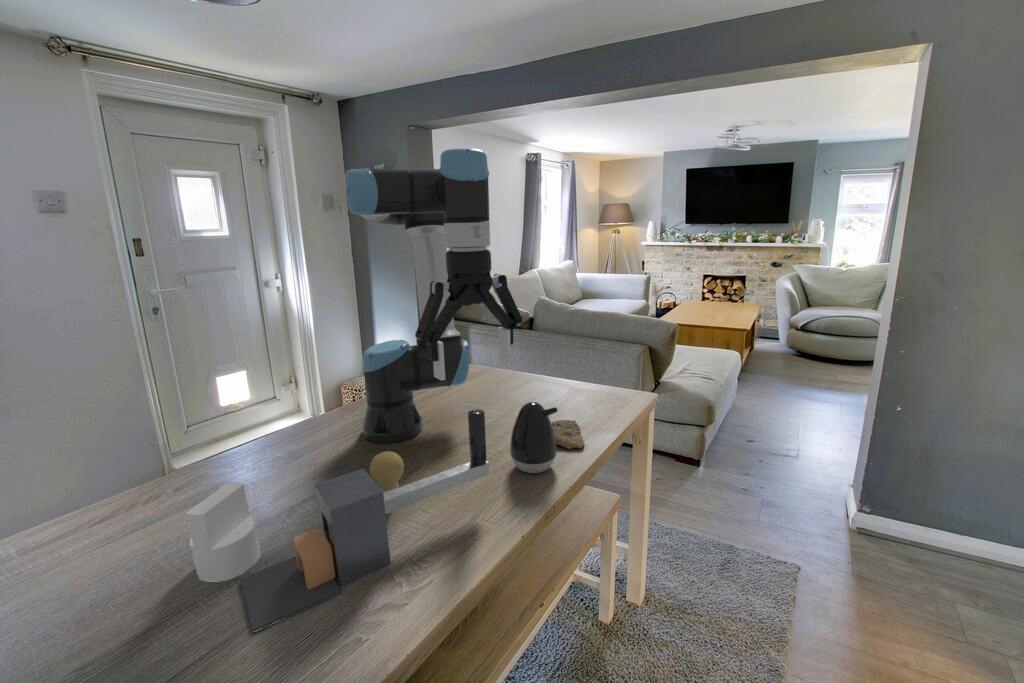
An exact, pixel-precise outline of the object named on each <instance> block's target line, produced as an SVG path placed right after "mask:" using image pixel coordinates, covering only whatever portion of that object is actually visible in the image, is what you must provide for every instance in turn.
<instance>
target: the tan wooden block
mask: <svg viewBox="0 0 1024 683" xmlns="http://www.w3.org/2000/svg"><path fill="white" fill-rule="evenodd" d="M292 541H293V548H294V553H295V556H296V560H297V566H298V569H299V571H300V572H302V571H304V575H305V581H306V586H307V588H308V590H309V589H311V588H314V587H316V586H318V585H320V584H322V583H324V582H327V581H329V580H331V579H333V578H334V579H335V578H336V576H335V570H334V563H333V556H332V549H331V546H330V544H329V542H328V541H327V539H326V538H325V536H324V534H323V533H322V531H321V529H320V527H316V528H314V529H312V530H309V531H307V532H304V533H302V534H299V535H297V536H293V537H292Z"/></svg>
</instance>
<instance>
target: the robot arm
mask: <svg viewBox="0 0 1024 683" xmlns="http://www.w3.org/2000/svg"><path fill="white" fill-rule="evenodd" d="M439 161H440V162H439V164H440V167H439V168H406V169H405V168H403V169H401V168H397V169H396V168H368V167H362V168H355V169H354V168H352V169H347V171H345V174H344V179H345V181H344V182H345V189H346V196H347V197H346V198H347V199H346V200H347V206H348V210H349V212H350V213H351V214H352V215H358V216H360V217H361V218H362V219H365V220H367V221H370V222H372V223H377V224H382V225H383V224H384V225H392V226H395V225H397V226H401V225H403V226H404V228H405V229H404V230H405V231H404V232H405V233H406V234H407V235H408V236H409V237H411V240H412V249H413V258H414V259H413V261H414V270H415V279H416V289H417V298H418V310H419V319H420V321H419V324H418V325H417V329H416V331H415V334H414V335H415V338H416V344H415V345H410V343H409V342H408V341H407V340H405V339H394V340H393V339H392V340H386V341H383V342H379V343H376V344H374V345H372V346H370V347H368V348H366V349H365V350H364V352H363V353H362V368H361V370H362V372H363V376H364V388H365V396H366V410H365V415H364V418H363V422H362V435H363V437H364V439H366V440H367V441H368V442H369V441H370V442H373V443H378V444H379V443H380V444H390V443H399V442H402V441H406V440H409V439H411V438H413V437H416V436H417V435H419V434H420V433H421V431H422V430H423V420H422V419H423V418H422V416H421V415H420V411H419V410H418V408H417V405H416V403H415V401H414V393H413V392H414V391H421V390H428V389H429V390H430V389H436V388H445V387H447V388H450V387H453V386H457V385H461V384H463V383H464V382H466V380H467V378H468V375H469V369H470V358H471V357H470V356H471V354H470V350H469V343H468V341H467V340H466V339H462V333H460V332H459V331H458V329H456V327H455V321H454V317H455V315H456V313H457V312H458V311H459V310H460V309H462V307H463V306H466V307H467V306H471V305H473V304H475V305H481V304H483V305H484V306H485V307H486V308H487V310H488V311H490V313H491V314H492V315H493V316H494V317H495V318H496V320H497V321H498V322H499V323H500V325H502V326H499V327H497V329H498V334H497V335H498V360H499V361H498V362H501V363H503V364H505V365H511V364H512V357H511V356H512V353H511V352H512V348H511V345H512V346H513V344H514V330H516V329H517V327H518V324H522V323H523V317H522V315H521V313H520V311H519V308H518V307H517V304H516V303H515V302H516V301H515V300H514V298H513V295H512V293H511V291H510V289H509V287H508V279H507V275H505V274H500V273H495V274H493V276H491V272H492V252H491V251H490V249H488V248H489V247H490V246H491V231H490V230H491V227H490V226H491V225H490V223H491V222H490V192H489V191H490V190H489V187H490V186H489V175H490V172H489V167H488V157H487V154H486V152H484V151H483V150H481V149H478V148H452V149H451V148H450V149H446V150H443V151H442V152H441V154H440V160H439ZM487 247H488V248H487ZM492 287H493V288H494V289H495V292H496V294H497V296H498V298H499V300H500V303H501V304H502V306H501V305H500V304H499V303H498V302H497V300H496V297H495V296H493V294H492V293H491V292H490V290H491V288H492ZM502 307H503V308H504V309H503V308H502Z"/></svg>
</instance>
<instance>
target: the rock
mask: <svg viewBox="0 0 1024 683" xmlns="http://www.w3.org/2000/svg"><path fill="white" fill-rule="evenodd" d="M551 423H552V426H553V430H554V434H555V439H556V445H558V446H561V447H563V448H565V449H569V450H570V449H575V448H576V449H580V448H583V447H584V446H585V442H584V437H583V435H582V432H581V428H580V425H579V424H578V423H577V421H576V420H569V419H560V420H556V421H551Z"/></svg>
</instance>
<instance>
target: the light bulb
mask: <svg viewBox="0 0 1024 683" xmlns="http://www.w3.org/2000/svg"><path fill="white" fill-rule="evenodd" d="M404 466H405V464H404V461H403V459H402V457H401V456H400V455H399V454H398V453H397V452H395V451H389V450H388V451H387V450H386V451H382V452H380V453H378V454H376V455H375V456H374V457H373V458H372V459H371V462H370V466H369V472H370V474H369V475H370V477H371V478H372V479H373V480H374V482H375V483H376V484H377V485H378V486H379V487H380V489H381V490H382V491H383V493H385V492H388V491H391V490H393V489H396V488H399V487H400V486H399V481H400V479H401V477H402V476H403V474H404V471H405V470H404V468H405V467H404Z"/></svg>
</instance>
